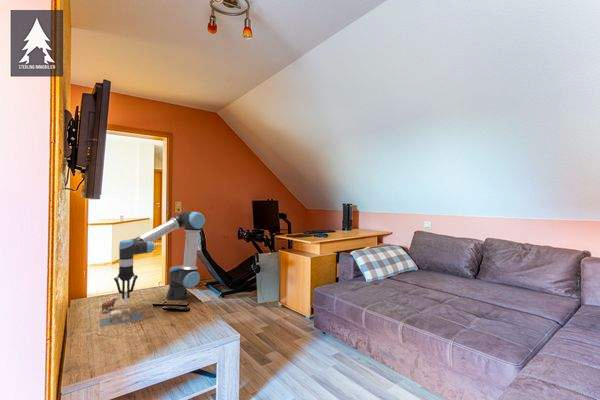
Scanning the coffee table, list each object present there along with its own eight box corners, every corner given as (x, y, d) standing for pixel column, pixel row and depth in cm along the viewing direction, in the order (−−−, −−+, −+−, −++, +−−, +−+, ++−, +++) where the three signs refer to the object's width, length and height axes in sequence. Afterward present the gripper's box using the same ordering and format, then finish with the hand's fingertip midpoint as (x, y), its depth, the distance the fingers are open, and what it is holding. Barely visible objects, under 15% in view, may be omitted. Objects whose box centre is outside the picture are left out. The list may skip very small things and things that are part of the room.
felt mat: (141, 312, 193) (141, 312, 193) (142, 319, 183) (143, 319, 183) (100, 319, 182) (100, 319, 182) (99, 327, 171) (99, 327, 171)
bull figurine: (120, 307, 202) (120, 295, 202) (105, 315, 189) (105, 302, 189) (114, 306, 203) (114, 294, 202) (98, 314, 189) (99, 301, 189)
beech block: (129, 308, 187) (110, 311, 181) (130, 310, 182) (110, 314, 177) (129, 316, 187) (110, 319, 181) (130, 319, 182) (110, 322, 177)
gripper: (137, 263, 189) (137, 300, 190) (113, 265, 182) (113, 303, 183) (138, 265, 183) (138, 303, 183) (113, 267, 176) (113, 307, 176)
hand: (125, 303), depth 183 cm, fingers closed
